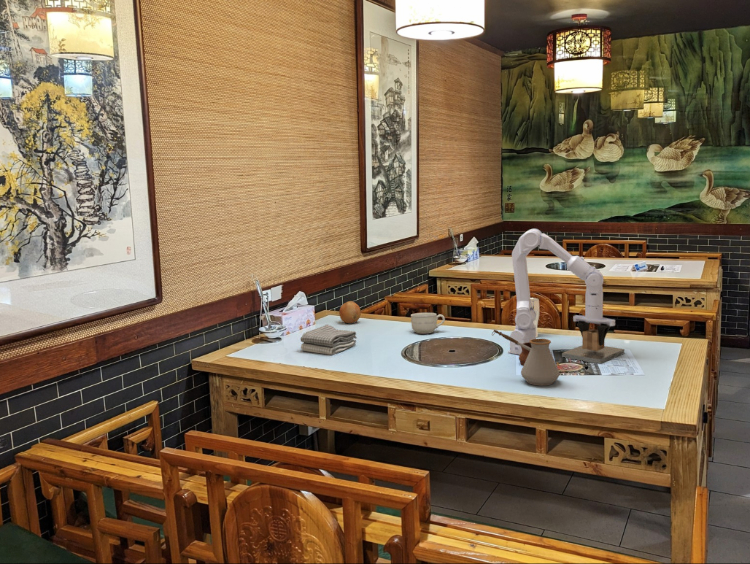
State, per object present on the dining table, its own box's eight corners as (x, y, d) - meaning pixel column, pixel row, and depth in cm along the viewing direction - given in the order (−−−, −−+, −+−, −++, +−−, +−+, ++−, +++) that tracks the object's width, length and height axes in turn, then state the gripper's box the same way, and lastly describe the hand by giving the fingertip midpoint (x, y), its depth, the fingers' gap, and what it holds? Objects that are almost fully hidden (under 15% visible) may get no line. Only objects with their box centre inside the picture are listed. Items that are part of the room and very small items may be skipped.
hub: (599, 363, 223) (600, 347, 222) (561, 357, 233) (562, 341, 232) (624, 353, 235) (624, 337, 235) (587, 347, 245) (587, 332, 245)
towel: (299, 352, 253) (298, 332, 252) (327, 342, 269) (326, 323, 267) (332, 356, 245) (332, 335, 244) (359, 346, 261) (358, 326, 260)
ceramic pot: (561, 358, 231) (560, 338, 230) (558, 373, 215) (557, 352, 214) (508, 357, 237) (507, 338, 236) (501, 371, 220) (500, 350, 219)
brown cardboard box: (589, 345, 238) (590, 328, 237) (604, 347, 234) (604, 330, 233) (582, 348, 234) (582, 331, 233) (596, 350, 230) (597, 333, 229)
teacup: (408, 335, 276) (407, 316, 275) (414, 329, 286) (414, 311, 285) (441, 336, 272) (441, 316, 271) (446, 330, 282) (446, 311, 281)
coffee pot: (564, 379, 207) (565, 332, 205) (552, 389, 197) (552, 339, 195) (499, 371, 218) (499, 325, 216) (485, 380, 209) (484, 332, 207)
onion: (352, 320, 310) (351, 298, 309) (365, 323, 303) (364, 301, 302) (335, 323, 304) (334, 301, 303) (348, 326, 297) (347, 304, 295)
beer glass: (541, 338, 262) (541, 300, 260) (523, 338, 262) (523, 300, 260) (537, 334, 269) (537, 297, 267) (519, 334, 269) (519, 297, 267)
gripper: (619, 305, 229) (618, 344, 231) (580, 301, 240) (580, 338, 242) (609, 308, 224) (609, 348, 226) (570, 304, 235) (570, 342, 237)
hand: (593, 343), depth 234 cm, fingers closed on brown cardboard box, 5 cm apart
